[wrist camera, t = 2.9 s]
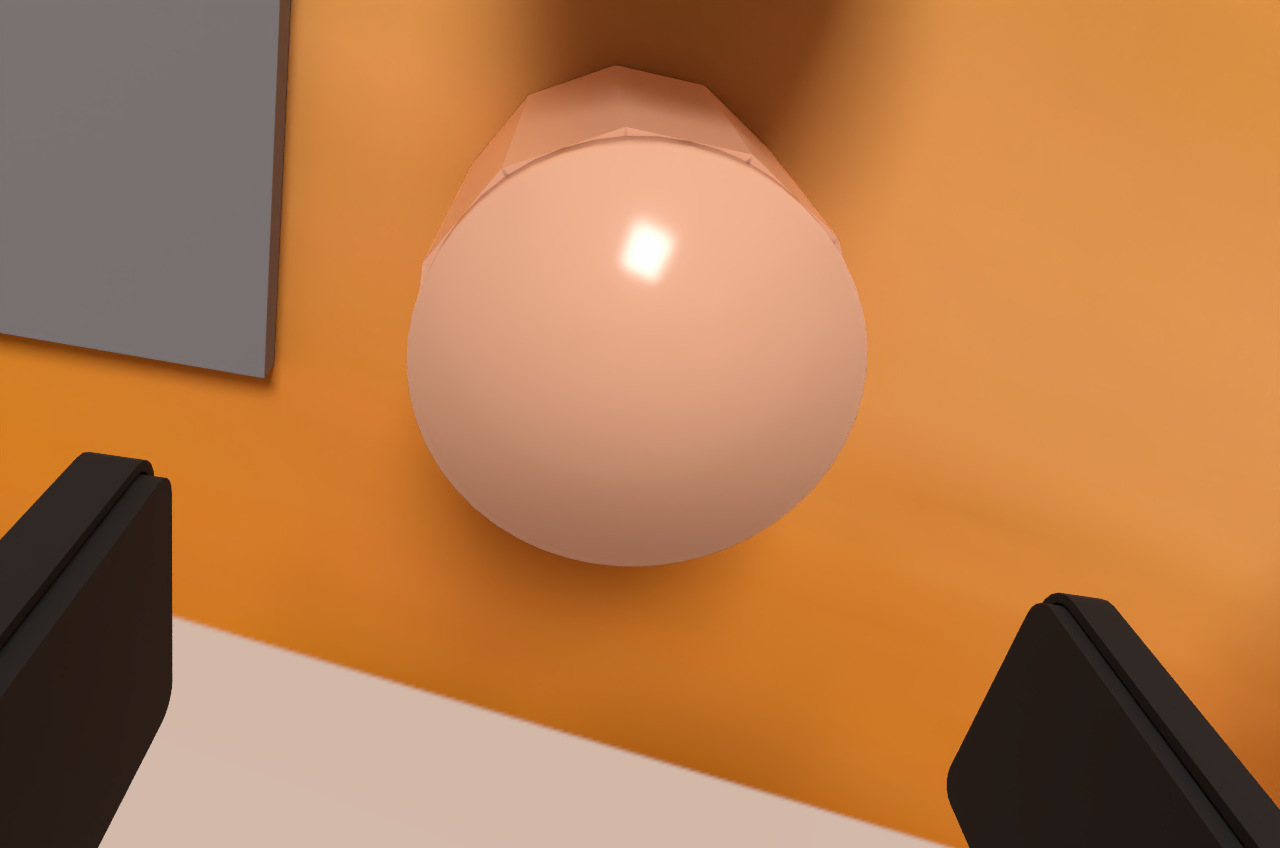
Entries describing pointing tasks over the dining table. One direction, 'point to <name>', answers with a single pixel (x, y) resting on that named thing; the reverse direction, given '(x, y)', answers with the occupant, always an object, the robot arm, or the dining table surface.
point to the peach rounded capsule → (633, 327)
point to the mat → (144, 176)
